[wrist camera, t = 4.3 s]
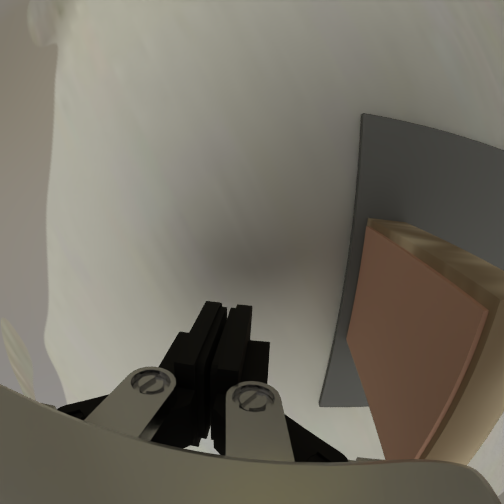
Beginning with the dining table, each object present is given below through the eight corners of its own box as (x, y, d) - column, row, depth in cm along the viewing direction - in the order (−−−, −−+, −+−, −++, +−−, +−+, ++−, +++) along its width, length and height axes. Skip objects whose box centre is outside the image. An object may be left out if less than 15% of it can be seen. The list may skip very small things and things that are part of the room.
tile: (405, 222, 17) (552, 299, 5) (381, 341, 19) (450, 485, 7) (364, 217, 17) (494, 299, 5) (343, 340, 19) (391, 498, 7)
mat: (562, 177, 14) (565, 178, 14) (506, 384, 20) (509, 387, 19) (361, 114, 16) (363, 113, 15) (318, 402, 21) (319, 406, 20)
